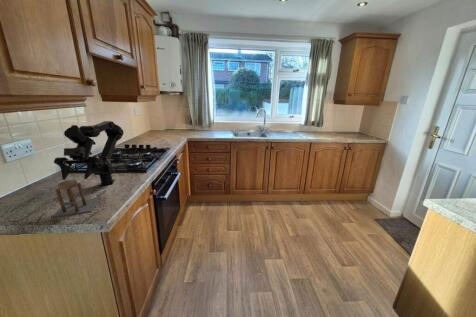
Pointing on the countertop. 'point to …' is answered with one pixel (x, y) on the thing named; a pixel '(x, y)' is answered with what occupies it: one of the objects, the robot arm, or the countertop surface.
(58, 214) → the mat
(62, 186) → the stool
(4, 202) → the countertop surface
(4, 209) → the countertop surface
